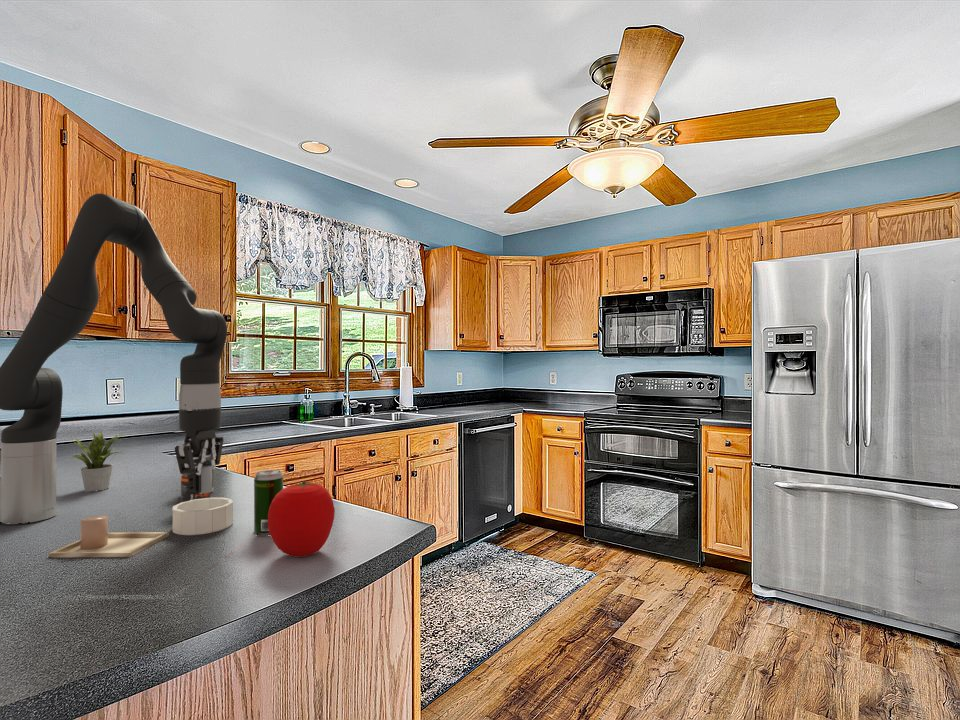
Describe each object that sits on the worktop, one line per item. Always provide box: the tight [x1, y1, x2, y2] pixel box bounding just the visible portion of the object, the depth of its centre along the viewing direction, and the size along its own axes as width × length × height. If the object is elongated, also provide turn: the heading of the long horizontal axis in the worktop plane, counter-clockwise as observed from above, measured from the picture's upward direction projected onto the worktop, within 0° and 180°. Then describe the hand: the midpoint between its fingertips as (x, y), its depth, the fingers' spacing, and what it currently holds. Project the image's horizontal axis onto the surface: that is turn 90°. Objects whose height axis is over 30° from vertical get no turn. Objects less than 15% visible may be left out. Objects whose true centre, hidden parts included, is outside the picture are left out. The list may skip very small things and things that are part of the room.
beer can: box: [253, 469, 284, 537], centre depth 103 cm, size 5×5×12 cm
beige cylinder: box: [80, 515, 109, 550], centre depth 94 cm, size 4×4×5 cm
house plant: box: [71, 430, 130, 492], centre depth 141 cm, size 14×14×16 cm
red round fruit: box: [268, 480, 336, 558], centre depth 91 cm, size 11×11×13 cm
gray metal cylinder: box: [195, 465, 213, 494], centre depth 105 cm, size 4×4×5 cm
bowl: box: [172, 497, 234, 536], centre depth 106 cm, size 11×11×5 cm
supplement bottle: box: [180, 463, 211, 503], centre depth 118 cm, size 6×6×11 cm
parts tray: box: [48, 531, 170, 559], centre depth 94 cm, size 14×11×1 cm
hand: (201, 490), depth 105 cm, fingers closed on gray metal cylinder, 4 cm apart
